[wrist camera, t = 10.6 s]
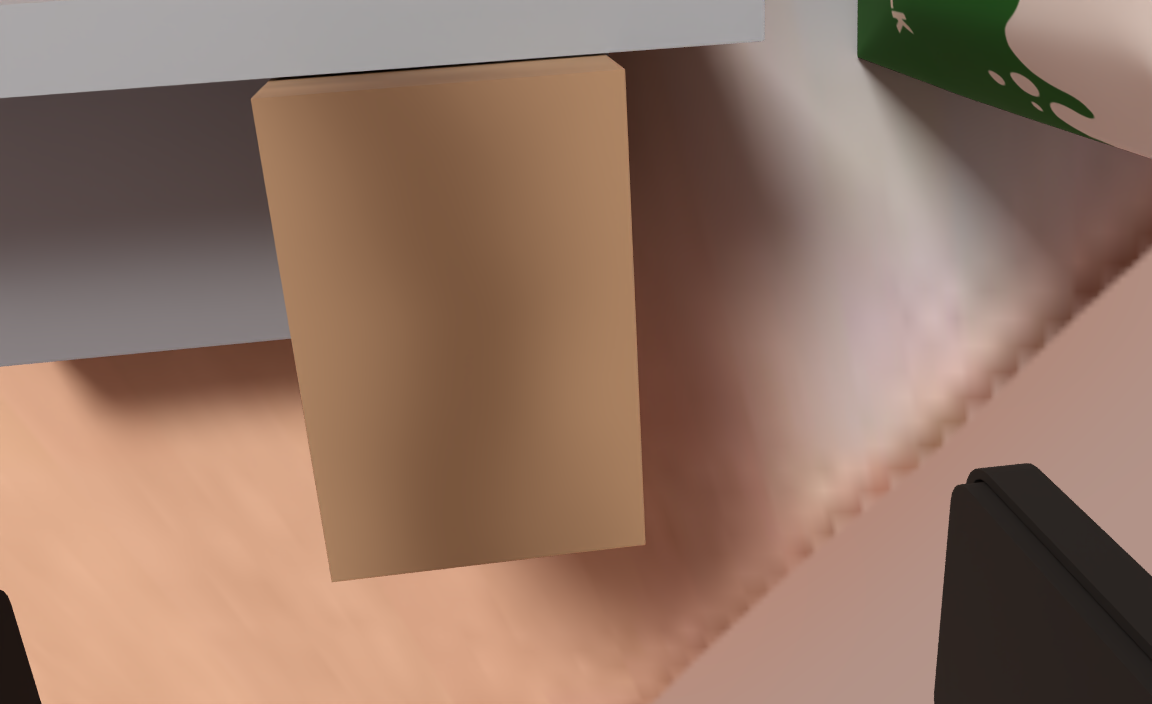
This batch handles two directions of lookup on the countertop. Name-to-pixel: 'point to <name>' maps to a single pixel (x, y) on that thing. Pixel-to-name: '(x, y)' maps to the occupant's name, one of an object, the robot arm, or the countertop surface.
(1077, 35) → the milk carton
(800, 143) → the countertop surface
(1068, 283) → the countertop surface
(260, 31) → the wall board
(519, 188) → the tan wooden block
